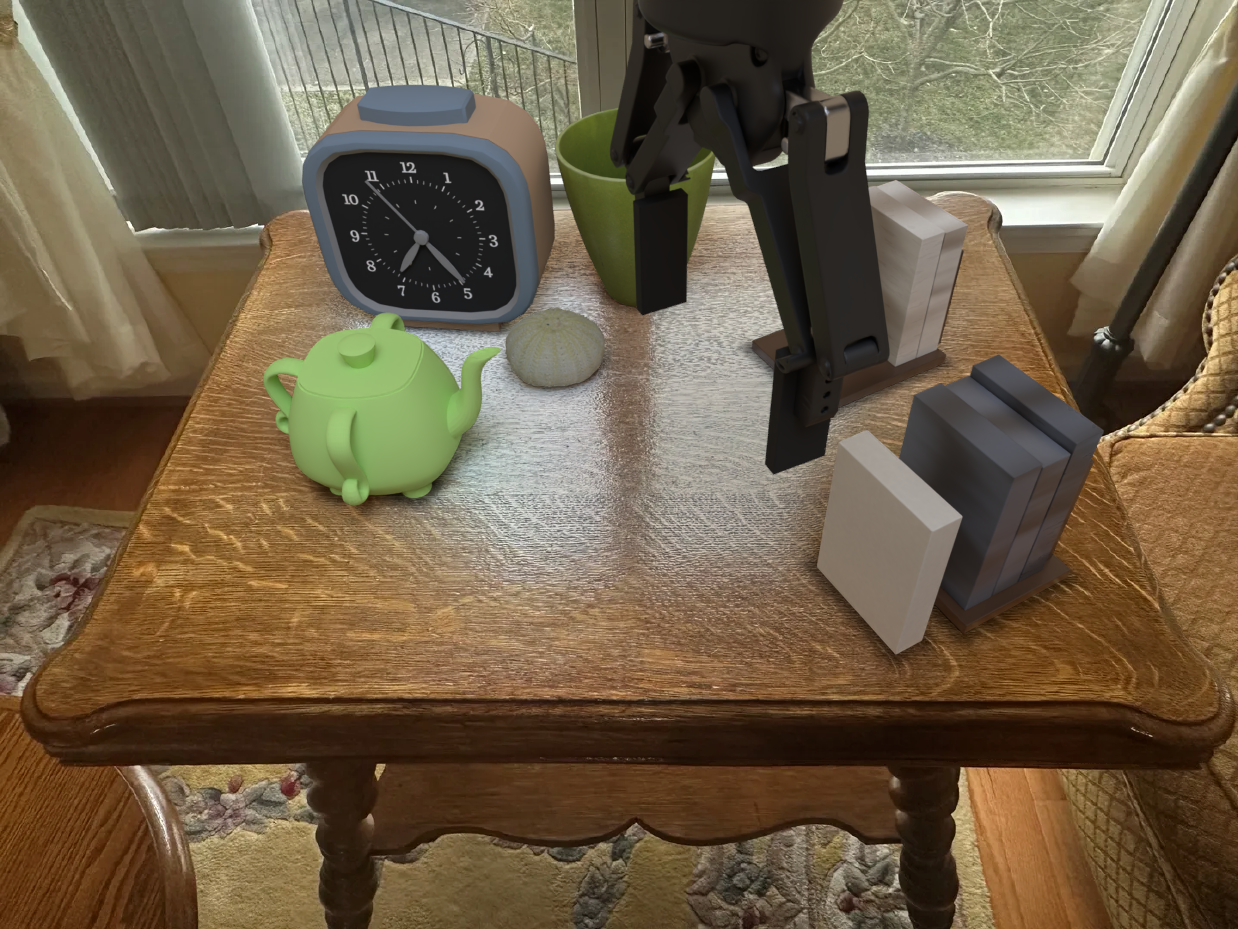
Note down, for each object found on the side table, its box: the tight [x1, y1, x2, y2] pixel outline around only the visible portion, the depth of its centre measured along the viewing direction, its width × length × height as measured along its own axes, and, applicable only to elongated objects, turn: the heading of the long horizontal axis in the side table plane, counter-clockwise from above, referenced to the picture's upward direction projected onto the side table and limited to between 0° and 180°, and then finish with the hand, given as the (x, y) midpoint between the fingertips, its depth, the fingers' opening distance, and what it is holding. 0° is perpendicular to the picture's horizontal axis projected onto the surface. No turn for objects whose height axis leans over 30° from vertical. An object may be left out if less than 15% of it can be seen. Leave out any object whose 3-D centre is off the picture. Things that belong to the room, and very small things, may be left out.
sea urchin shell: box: [504, 307, 606, 388], centre depth 88 cm, size 9×8×8 cm
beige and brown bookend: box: [751, 179, 969, 408], centre depth 83 cm, size 11×15×14 cm
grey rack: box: [898, 354, 1105, 634], centre depth 66 cm, size 11×10×15 cm
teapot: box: [262, 313, 502, 507], centre depth 76 cm, size 16×14×13 cm
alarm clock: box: [301, 84, 556, 332], centre depth 89 cm, size 21×10×22 cm, turn 82°
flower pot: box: [554, 107, 716, 308], centre depth 92 cm, size 15×15×16 cm
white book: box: [816, 429, 962, 655], centre depth 64 cm, size 9×2×13 cm, turn 28°
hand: (721, 376), depth 47 cm, fingers open, 13 cm apart
